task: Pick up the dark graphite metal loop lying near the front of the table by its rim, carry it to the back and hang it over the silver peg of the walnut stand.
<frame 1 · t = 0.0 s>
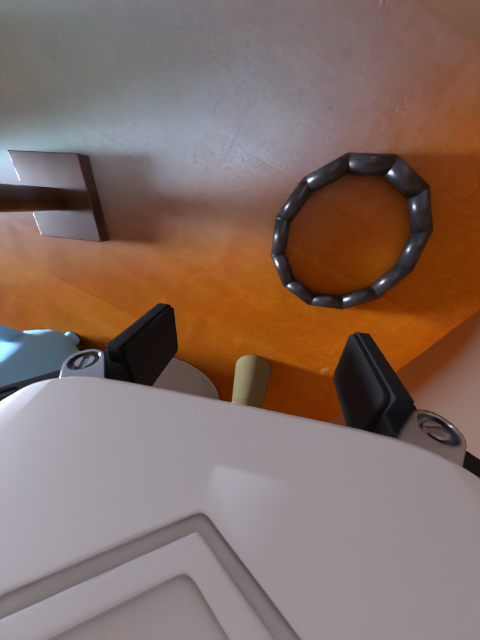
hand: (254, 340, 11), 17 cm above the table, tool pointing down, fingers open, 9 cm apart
teapot: (63, 352, 42), on the table
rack: (68, 199, 26), on the table
ring: (344, 243, 22), point 1 cm above the table
container: (175, 391, 41), on the table
tan rounded piece: (253, 367, 34), on the table
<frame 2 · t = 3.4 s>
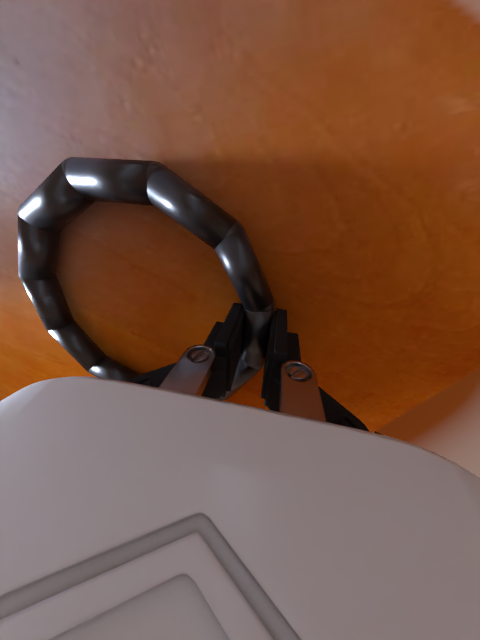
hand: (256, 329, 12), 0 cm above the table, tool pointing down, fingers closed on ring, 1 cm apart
ring: (145, 316, 12), point 1 cm above the table, touching gripper
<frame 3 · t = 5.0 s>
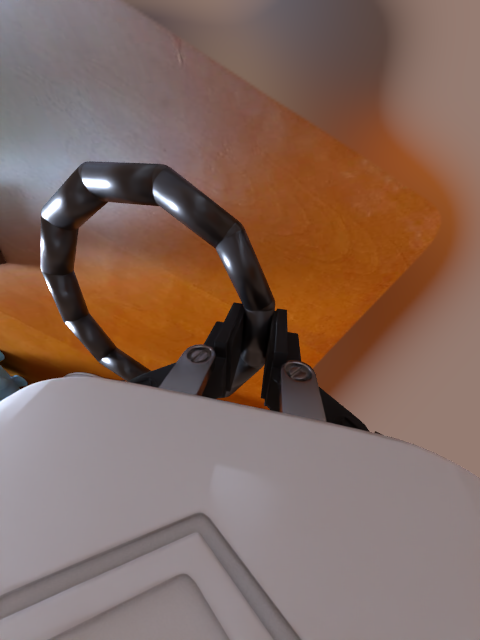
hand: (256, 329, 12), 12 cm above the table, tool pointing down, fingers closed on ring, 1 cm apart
ring: (152, 311, 13), point 12 cm above the table, tilted 5°, touching gripper
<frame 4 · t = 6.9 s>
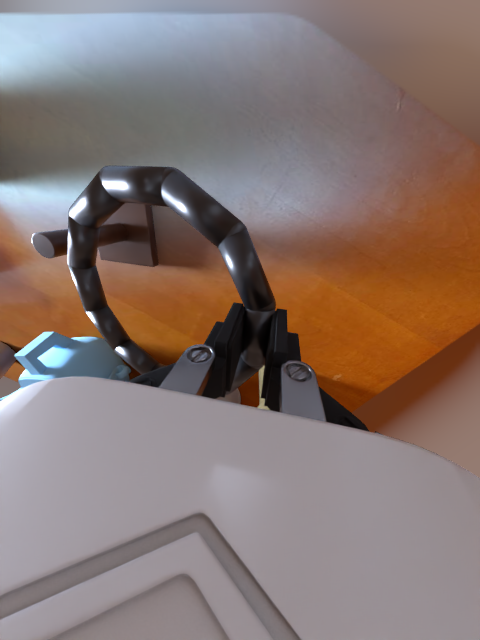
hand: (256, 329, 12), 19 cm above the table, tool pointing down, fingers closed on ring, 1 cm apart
teapot: (101, 356, 47), on the table
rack: (127, 231, 30), on the table
ring: (161, 306, 14), point 18 cm above the table, tilted 11°, touching gripper
vase: (6, 350, 53), on the table
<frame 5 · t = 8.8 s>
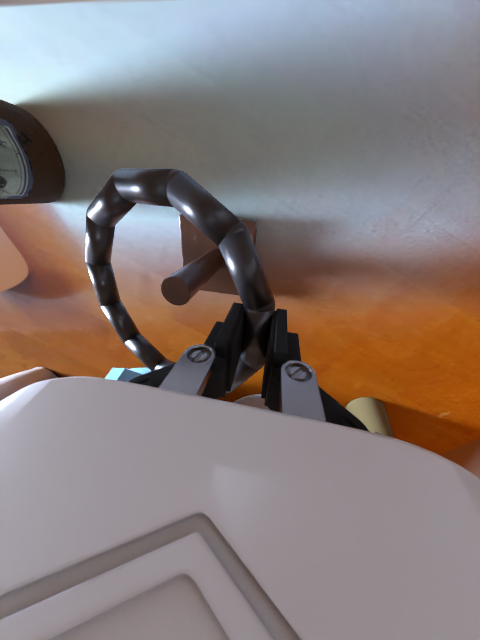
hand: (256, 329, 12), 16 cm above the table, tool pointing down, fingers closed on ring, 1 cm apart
teapot: (158, 385, 42), on the table
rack: (219, 255, 26), on the table
ring: (167, 303, 14), point 14 cm above the table, tilted 16°, touching gripper
vase: (49, 376, 49), on the table
olive oil: (32, 159, 25), on the table
container: (269, 424, 42), on the table
tan rounded piece: (364, 408, 35), on the table
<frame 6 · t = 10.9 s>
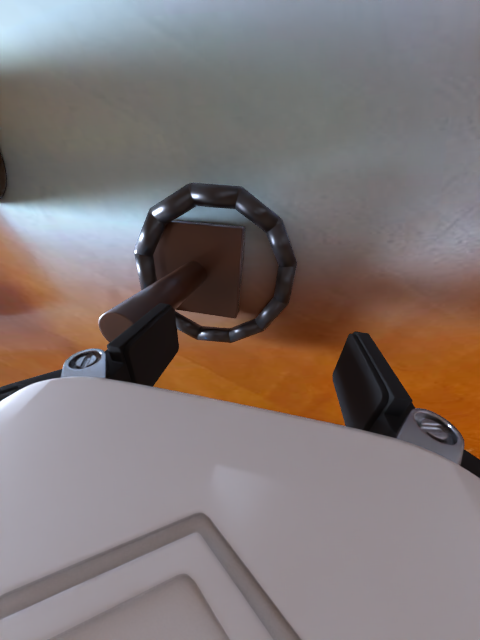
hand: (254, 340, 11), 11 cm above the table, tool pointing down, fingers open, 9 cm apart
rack: (199, 269, 22), on the table
ring: (215, 277, 20), point 2 cm above the table, tilted 7°, touching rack
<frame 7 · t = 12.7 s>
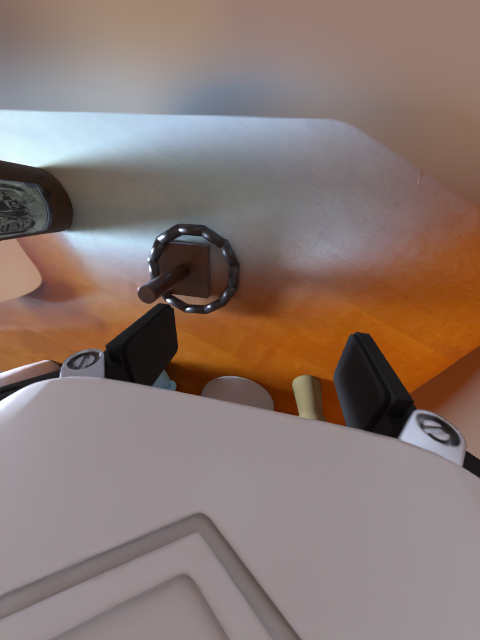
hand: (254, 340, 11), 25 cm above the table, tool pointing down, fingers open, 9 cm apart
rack: (185, 269, 36), on the table
ring: (194, 273, 34), point 2 cm above the table, tilted 7°, touching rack
vase: (54, 368, 58), on the table
olive oil: (49, 202, 35), on the table
container: (237, 402, 51), on the table
tan rounded piece: (306, 384, 45), on the table
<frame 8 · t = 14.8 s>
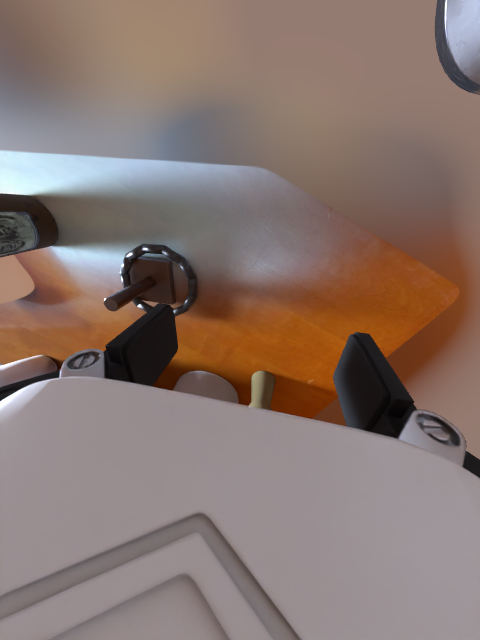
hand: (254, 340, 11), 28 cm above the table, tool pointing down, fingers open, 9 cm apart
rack: (153, 279, 43), on the table
ring: (159, 283, 41), point 2 cm above the table, tilted 7°, touching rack
vase: (48, 362, 65), on the table
olive oil: (38, 222, 41), on the table
container: (207, 394, 58), on the table
tan rounded piece: (263, 379, 51), on the table
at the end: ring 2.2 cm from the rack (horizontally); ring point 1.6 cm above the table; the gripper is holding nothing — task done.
